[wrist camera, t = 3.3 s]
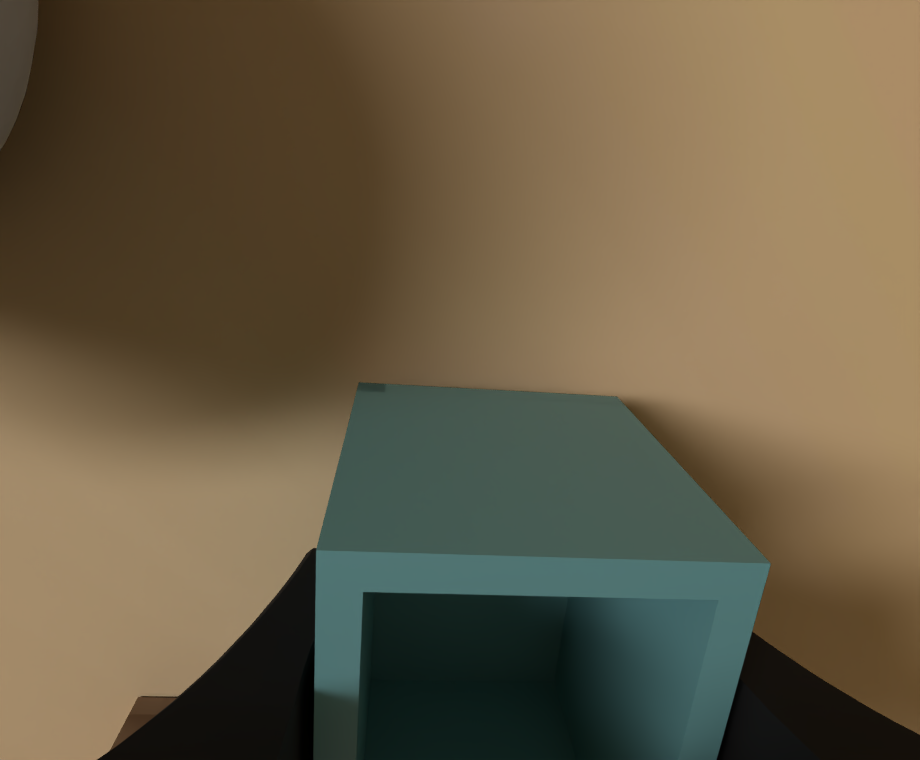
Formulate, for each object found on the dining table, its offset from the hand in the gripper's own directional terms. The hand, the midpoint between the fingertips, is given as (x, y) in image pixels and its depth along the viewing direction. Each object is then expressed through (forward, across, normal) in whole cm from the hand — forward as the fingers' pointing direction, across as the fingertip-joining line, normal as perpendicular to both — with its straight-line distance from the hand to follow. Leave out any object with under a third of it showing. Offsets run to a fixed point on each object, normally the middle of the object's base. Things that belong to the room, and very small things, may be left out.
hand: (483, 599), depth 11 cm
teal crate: (+2, 0, 0) cm, 2 cm away
